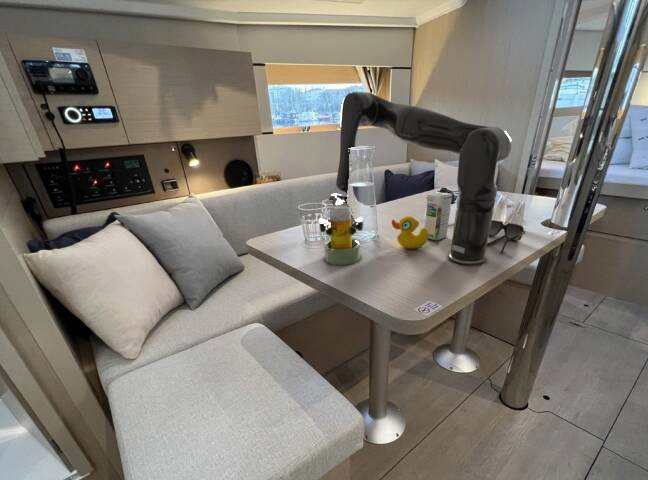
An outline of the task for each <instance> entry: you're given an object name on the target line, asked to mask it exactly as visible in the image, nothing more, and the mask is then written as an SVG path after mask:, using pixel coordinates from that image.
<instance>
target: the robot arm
mask: <svg viewBox="0 0 648 480" xmlns="http://www.w3.org/2000/svg"><path fill="white" fill-rule="evenodd" d="M361 127H372V128H373V127H375V128H379V129H382V130H386V131H388V132H389V133H390V134H392V135H393V137H394V138H396V139H398V140H399V141H401V142H403V143H405V144H407V145H411V146H414V147H416V148H421V149H425V150H433V151H444V152H449V153H450V152H451V153H455V154H457V155H458V156H459V157H458V165H457V178H456V185H457V190H458V191H457V192H458V193H457V200H456V208H455V209H456V210H455V214H454V215H455V216H454V224H453V230H452V236H451V245H450V252H449V257H448V258H449V260H451V261H452V262H454V263H456V264H460V265H469V266H471V265H479V264H482V263H484V262H485V258H486V256H485V255H486V253H487V247H488V246H491V245H493V244H495V243H497V242H498V241H501V240H503V239H505V238H506V236H505V234H504V235H501V236H500V237H498V238H495V239H494V240H492V241H490V242H488V241H489V236H490V235H489V232H490V226H491V221H492V216H493V211H494V207H495V205H496V200H497V195H498V186H497V185H496V184H495V177H496V169H497V166H499V165H500V164H501V163H503V162H504V161H505V160H506V159H507V158H508V157H509V155H510V153H511V151H512V139H511V137H510V136H509V134H508V133H507V131H505V130H504V129H503V128H500V127H496V126H487V125H481V124H475V123H469V122H464V121H460V120H459V119H455V118H454V117H451V116H448V115H445V114H442V113H440V112H436V111H434V110H430V109H428V108H424V107H421V106H416V105H412V104H406V103H397V102H392V101H389V100H387V99H385V98H383V97H381V96H378V95H376V94H374V93H371V92H366V91H365V92H364V91H352V92H348V93H347V94H346V95H345V97H344V98H343V101H342V104H341V108H340V135H339V136H340V137H339V138H340V140H339V142H340V144H339V145H340V146H339V147H340V148H339V161H338V168H337V175H336V181H335V186H336V188H337V190H340V191H341V192H343V193H345V194H339V193H333V194H331V195H330V196H329V197H328V200H333V202H332V203H333V205H339V204H345V205H348V204H347V201H346V199H347V196H348V195H346V194H347V190H348V179H349V154H350V149H348V148H351V147H356V148H357V145H356V141H357V136H358V135H357V134H358V131H359V128H361ZM348 150H349V152H348ZM341 199H344V200H341ZM350 209H351V208H350ZM318 221H319V230H320V232H321V233H324V232H325V235H327V237H328V236H329V237H331V227H330V218H328V219H327V220H325V219H324V218H319V219H318ZM363 228H364V217H362V216H359V217H357V219H355V218H354V213H353V212H352V209H351V234H352V236H354V235H355V234H357V231H358V232H359V231H360V232H361V231H363Z"/></svg>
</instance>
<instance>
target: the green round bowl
mask: <svg viewBox="0 0 648 480" xmlns="http://www.w3.org/2000/svg"><path fill="white" fill-rule="evenodd" d="M323 245H324V246H323V247H324V260H325V262H326V263H328V264H329V265H334V266H347V265H351V264H355V263H357V262H358V261H359V260H360V257H361V250H360V249H361V248H360V245H361V244H360V242H359V241H358V240H357V239H352V248H351V249H346V250H334V249H332V246H331V240H328V241H326V242H325V243H324V244H323Z"/></svg>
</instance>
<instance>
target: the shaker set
mask: <svg viewBox="0 0 648 480" xmlns="http://www.w3.org/2000/svg"><path fill="white" fill-rule="evenodd" d="M508 202H509V195H508V194H505V195H504V194H502V195H501V196H500V197H499V199H497V202H496V203H495V205H494V211H493V216H492V220H495V221H502V222H507V223H503V225H507V224H508V223H513V224H517V225H520V226H522V227H523V225H524V224H523V223H524V217H525V209H526V208H525V206H526V201H522V203H521V200H519V201H518V202H517V203H516V205H515V206H514V207H513V209H512V210H511V212H510V214H509V215H508V217H507V214H508V213H507V212H508Z"/></svg>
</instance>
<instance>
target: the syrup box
mask: <svg viewBox="0 0 648 480" xmlns="http://www.w3.org/2000/svg"><path fill="white" fill-rule="evenodd" d="M426 198H427V199H426V208H425V219H424V220H425V221H424V228H425V229H426V230H427V231H428V239H430V240H432V241H433V240H434V241H440V240H443V239H444V238H447V236H448V229H449V222H450V221H449V220H450V214H451V205H452V200H453V199H452V198H453V193H446V192H440V191H439V192H438V191H436V192H431V193H427V196H426Z"/></svg>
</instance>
